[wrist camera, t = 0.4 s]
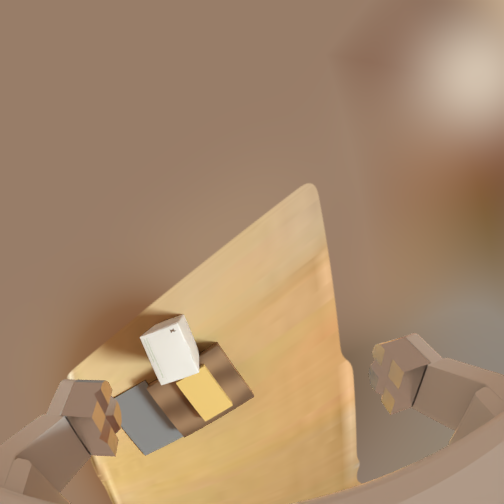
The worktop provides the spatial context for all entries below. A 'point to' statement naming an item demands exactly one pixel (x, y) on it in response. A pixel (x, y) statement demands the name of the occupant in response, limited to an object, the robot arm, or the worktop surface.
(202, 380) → the yellow rectangular block
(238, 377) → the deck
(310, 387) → the worktop surface
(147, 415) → the mat
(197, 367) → the skincare box
